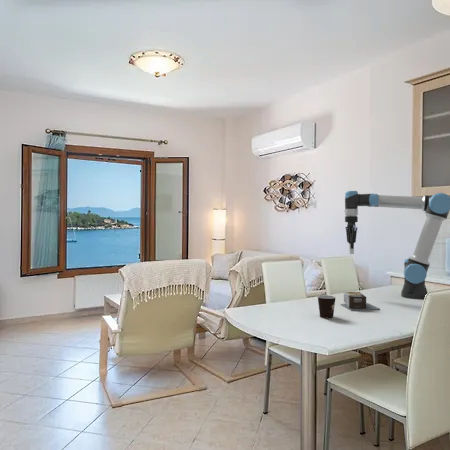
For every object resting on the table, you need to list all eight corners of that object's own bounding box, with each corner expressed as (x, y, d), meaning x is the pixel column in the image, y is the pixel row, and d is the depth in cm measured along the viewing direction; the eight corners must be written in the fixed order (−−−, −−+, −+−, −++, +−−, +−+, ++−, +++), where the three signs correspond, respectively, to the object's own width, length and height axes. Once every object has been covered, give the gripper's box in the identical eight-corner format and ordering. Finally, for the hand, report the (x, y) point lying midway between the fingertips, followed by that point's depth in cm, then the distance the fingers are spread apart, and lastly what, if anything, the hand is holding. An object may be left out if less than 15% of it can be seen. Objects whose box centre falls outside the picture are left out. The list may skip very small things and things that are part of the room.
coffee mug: (325, 319, 203) (325, 299, 203) (314, 316, 211) (314, 296, 210) (343, 317, 208) (343, 296, 208) (331, 313, 216) (331, 294, 216)
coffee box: (359, 291, 239) (367, 296, 223) (359, 302, 239) (366, 308, 223) (343, 291, 240) (349, 296, 224) (343, 302, 240) (349, 308, 224)
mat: (367, 304, 238) (367, 303, 238) (379, 309, 224) (379, 308, 224) (340, 304, 237) (340, 303, 237) (351, 310, 222) (350, 309, 222)
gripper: (341, 215, 267) (341, 253, 267) (349, 215, 254) (349, 255, 254) (352, 215, 267) (352, 252, 268) (361, 215, 254) (361, 254, 255)
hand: (351, 253), depth 261 cm, fingers closed
